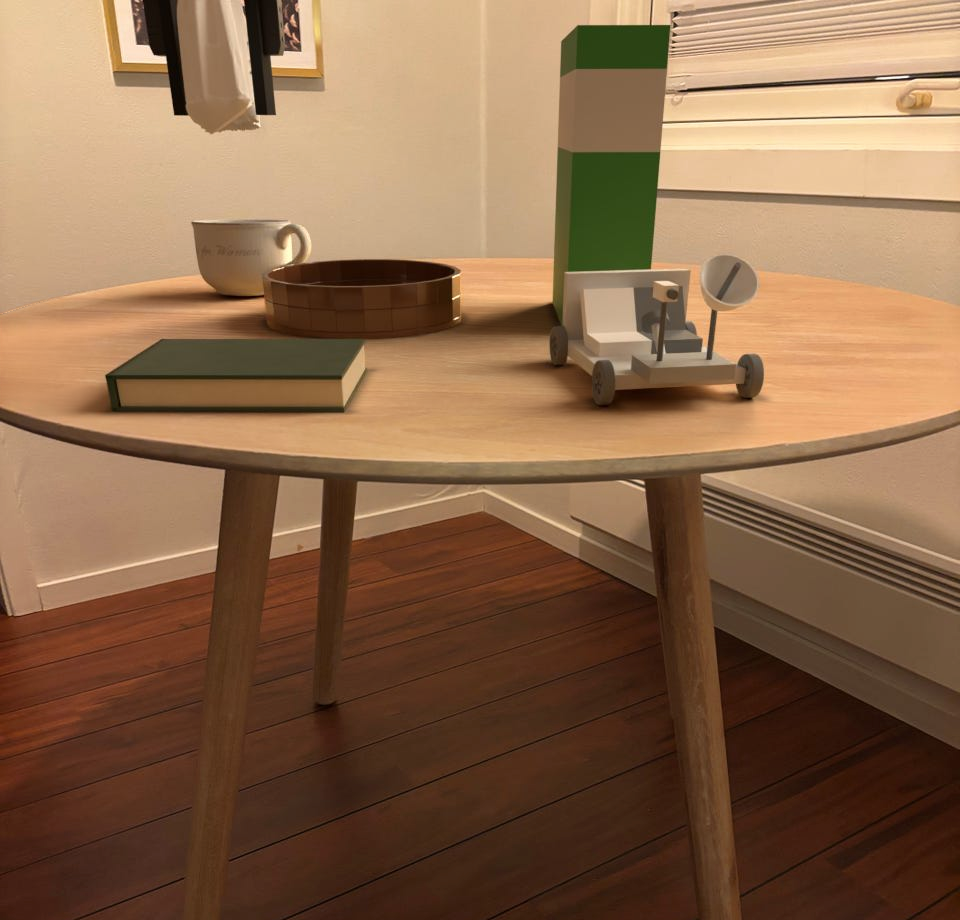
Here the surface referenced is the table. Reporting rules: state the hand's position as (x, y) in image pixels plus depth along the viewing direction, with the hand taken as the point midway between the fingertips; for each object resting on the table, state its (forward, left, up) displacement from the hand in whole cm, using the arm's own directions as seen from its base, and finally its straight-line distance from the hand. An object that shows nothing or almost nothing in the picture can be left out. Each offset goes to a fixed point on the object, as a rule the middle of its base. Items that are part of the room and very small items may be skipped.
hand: (225, 114), depth 62 cm
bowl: (+5, +27, -18) cm, 32 cm away
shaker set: (0, 0, -1) cm, 1 cm away
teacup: (-9, +42, -18) cm, 46 cm away
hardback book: (+28, +28, -18) cm, 43 cm away
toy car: (+30, +1, -18) cm, 35 cm away
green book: (0, -1, -18) cm, 18 cm away
